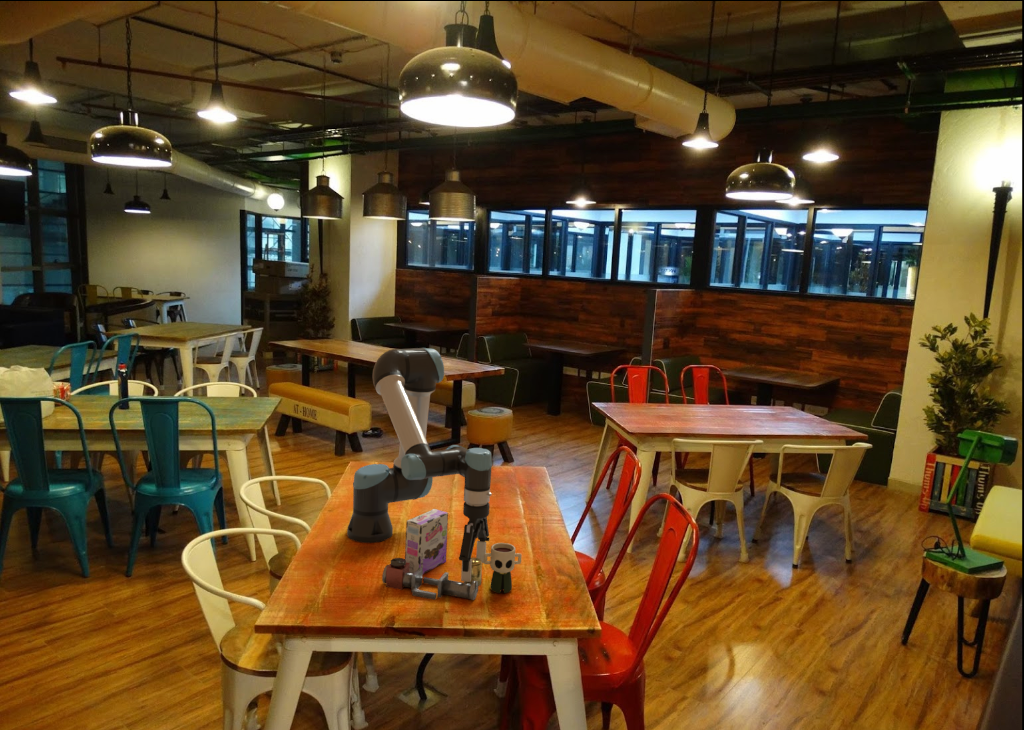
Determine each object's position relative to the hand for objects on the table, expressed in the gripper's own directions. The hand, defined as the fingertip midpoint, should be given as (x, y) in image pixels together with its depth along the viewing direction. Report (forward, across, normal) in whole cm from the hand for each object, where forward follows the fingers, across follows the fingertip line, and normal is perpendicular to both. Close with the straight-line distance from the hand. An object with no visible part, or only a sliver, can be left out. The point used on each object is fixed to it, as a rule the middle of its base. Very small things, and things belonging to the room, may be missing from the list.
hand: (473, 571), depth 206 cm
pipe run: (+4, -9, +10) cm, 14 cm away
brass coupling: (+4, 0, 0) cm, 4 cm away
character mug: (+4, -1, -9) cm, 10 cm away
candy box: (+4, +5, +17) cm, 18 cm away
